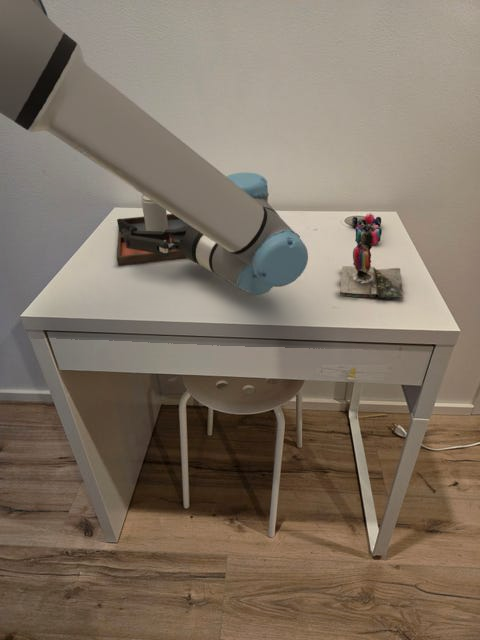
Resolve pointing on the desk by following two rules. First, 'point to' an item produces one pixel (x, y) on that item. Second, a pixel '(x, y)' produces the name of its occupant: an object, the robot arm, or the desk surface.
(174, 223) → the sorting tray
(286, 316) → the desk surface
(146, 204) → the beverage can
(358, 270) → the statue
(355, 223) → the toy car
